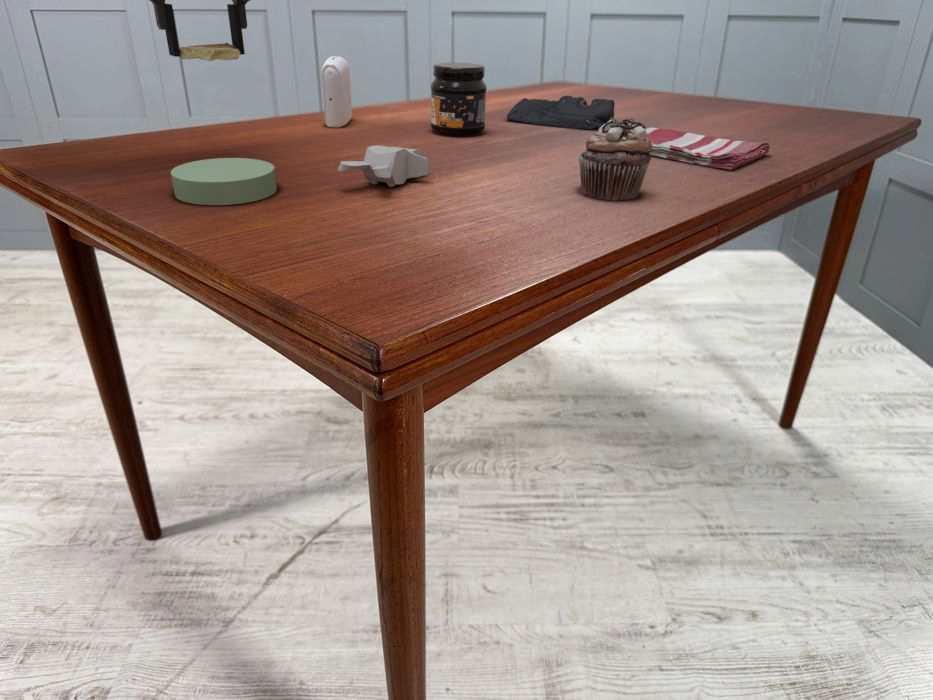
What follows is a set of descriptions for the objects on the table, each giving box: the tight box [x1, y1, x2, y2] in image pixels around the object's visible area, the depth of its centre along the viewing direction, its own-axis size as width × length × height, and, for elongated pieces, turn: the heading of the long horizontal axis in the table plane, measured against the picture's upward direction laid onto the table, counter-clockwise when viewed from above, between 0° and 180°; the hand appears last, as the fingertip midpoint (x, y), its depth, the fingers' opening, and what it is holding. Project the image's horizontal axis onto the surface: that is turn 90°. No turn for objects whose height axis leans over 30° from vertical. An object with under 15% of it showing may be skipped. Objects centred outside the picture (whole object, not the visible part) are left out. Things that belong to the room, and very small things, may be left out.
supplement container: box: [430, 62, 488, 137], centre depth 126 cm, size 10×10×12 cm
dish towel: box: [645, 126, 771, 171], centre depth 118 cm, size 17×23×3 cm
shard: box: [179, 42, 241, 62], centre depth 97 cm, size 11×8×2 cm
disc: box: [170, 157, 278, 206], centre depth 89 cm, size 13×13×3 cm
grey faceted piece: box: [337, 144, 430, 188], centre depth 94 cm, size 10×5×15 cm
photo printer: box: [320, 55, 353, 128], centre depth 131 cm, size 10×4×12 cm, turn 178°
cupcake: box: [578, 117, 652, 201], centre depth 91 cm, size 10×10×10 cm
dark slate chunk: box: [506, 95, 616, 131], centre depth 142 cm, size 15×22×5 cm
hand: (207, 54), depth 97 cm, fingers closed on shard, 8 cm apart
